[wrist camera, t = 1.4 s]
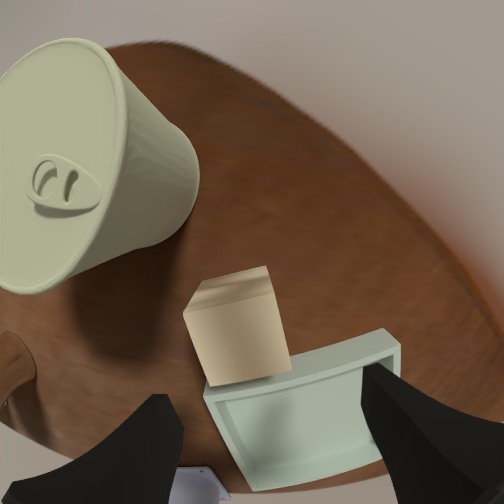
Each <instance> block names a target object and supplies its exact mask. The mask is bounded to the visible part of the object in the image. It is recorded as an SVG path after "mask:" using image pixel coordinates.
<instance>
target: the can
mask: <svg viewBox="0 0 504 504" xmlns="http://www.w3.org/2000/svg"><path fill="white" fill-rule="evenodd" d="M199 182H200V172H199V163H198V159H197V155H196V153H195V150H194V148H193V146H192V144H191V142H190V141H189V139H188V138H187V137H186V135H185V134H184V133H183V132H182V131H181V130H180V129H179V128H177V127H176V126H174V125H173V124H171V123H170V122H169V121H168V120H167V119H166V118H165V117H164V116H163V115H162V114H161V113H160V112H159V111H158V110H157V109H156V108H155V107H154V106H153V104H152V103H151V102H150V101H149V100H148V99H147V98H146V97H145V96H144V95H143V94H142V93H141V92H140V91H139V90H138V89H137V87H136V86H135V85H134V84H133V83H132V82H131V81H130V80H129V79H128V78H127V77H126V76H125V74H124V73H123V72H122V71H121V70H120V69H119V68H118V66H117V65H116V63H115V61H114V60H113V58H112V57H111V56H110V55H109V54H108V53H107V51H106V50H104V49H103V48H102V47H101V46H99V45H97V44H95V43H93V42H91V41H89V40H85V39H81V38H64V39H59V40H55V41H51V42H49V43H46V44H44V45H42V46H39V47H37V48H36V49H34V50H32V51H31V52H29V53H28V54H26V55H25V56H24V57H22V58H21V59H20V60H18V61H17V62H16V63H15V64H14V65H13V66H12V67H11V68H10V69H9V70H8V71H7V72H6V73H5V74H4V75H3V76H2V77H1V79H0V287H2V288H4V289H5V290H8V291H10V292H12V293H16V294H20V295H35V294H40V293H44V292H47V291H49V290H51V289H53V288H55V287H56V286H58V285H59V284H61V283H62V282H64V281H65V280H67V279H68V278H70V277H72V276H74V275H76V274H78V273H81V272H83V271H85V270H87V269H90V268H92V267H94V266H96V265H99V264H101V263H103V262H106V261H108V260H110V259H113V258H115V257H117V256H120V255H122V254H125V253H127V252H130V251H132V250H135V249H137V248H144V247H149V246H152V245H155V244H157V243H160V242H162V241H164V240H165V239H167V238H168V237H170V236H171V235H172V234H174V233H175V232H176V231H177V230H178V229H179V228H180V227H181V226H182V224H183V223H184V222H185V220H186V219H187V217H188V216H189V214H190V212H191V211H192V208H193V206H194V204H195V201H196V198H197V195H198V189H199Z"/></svg>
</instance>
